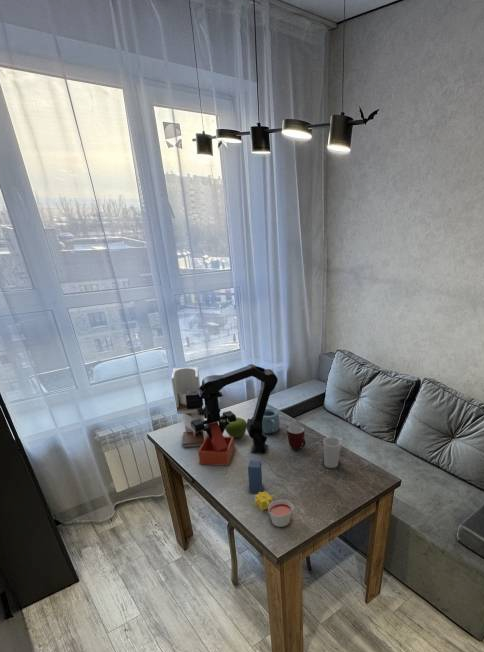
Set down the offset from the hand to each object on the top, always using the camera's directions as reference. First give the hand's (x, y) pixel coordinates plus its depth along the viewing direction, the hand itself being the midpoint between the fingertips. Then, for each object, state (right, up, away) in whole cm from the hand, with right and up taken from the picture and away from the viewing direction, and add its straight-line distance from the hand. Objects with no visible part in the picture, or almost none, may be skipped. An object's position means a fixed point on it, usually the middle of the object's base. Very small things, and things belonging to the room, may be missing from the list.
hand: (215, 437), depth 177 cm
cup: (+51, -12, +4) cm, 53 cm away
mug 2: (+35, -5, +14) cm, 38 cm away
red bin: (0, -8, +5) cm, 10 cm away
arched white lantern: (-14, -1, +16) cm, 22 cm away
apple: (+4, 0, +21) cm, 21 cm away
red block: (+3, -6, -2) cm, 7 cm away
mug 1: (+20, +3, +26) cm, 33 cm away
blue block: (+20, -21, -14) cm, 33 cm away
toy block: (+25, -27, -23) cm, 43 cm away
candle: (+32, -31, -29) cm, 54 cm away
